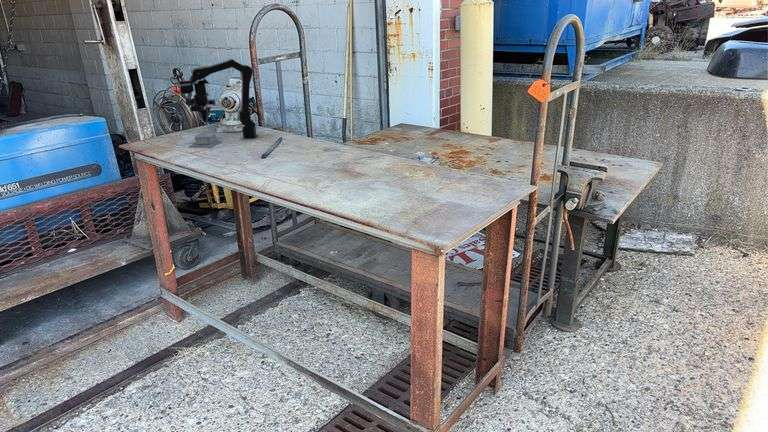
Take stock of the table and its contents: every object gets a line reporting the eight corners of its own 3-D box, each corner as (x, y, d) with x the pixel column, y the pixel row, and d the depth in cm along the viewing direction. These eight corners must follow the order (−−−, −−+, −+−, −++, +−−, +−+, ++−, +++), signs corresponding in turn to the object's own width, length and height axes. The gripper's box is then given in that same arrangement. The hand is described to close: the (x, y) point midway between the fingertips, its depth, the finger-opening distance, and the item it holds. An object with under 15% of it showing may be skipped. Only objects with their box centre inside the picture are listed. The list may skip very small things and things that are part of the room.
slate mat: (220, 141, 303) (220, 141, 302) (211, 147, 292) (210, 147, 292) (199, 141, 305) (198, 140, 305) (188, 147, 294) (188, 146, 294)
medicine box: (203, 140, 305) (195, 144, 297) (202, 132, 303) (194, 136, 296) (216, 140, 303) (208, 145, 296) (215, 132, 302) (207, 136, 294)
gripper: (194, 89, 302) (199, 117, 308) (178, 95, 285) (183, 125, 291) (213, 89, 300) (218, 117, 306) (198, 95, 283) (203, 125, 289)
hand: (205, 121), depth 298 cm, fingers closed
